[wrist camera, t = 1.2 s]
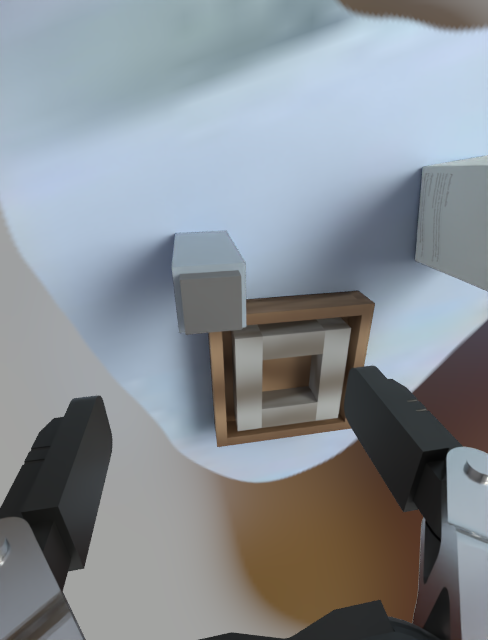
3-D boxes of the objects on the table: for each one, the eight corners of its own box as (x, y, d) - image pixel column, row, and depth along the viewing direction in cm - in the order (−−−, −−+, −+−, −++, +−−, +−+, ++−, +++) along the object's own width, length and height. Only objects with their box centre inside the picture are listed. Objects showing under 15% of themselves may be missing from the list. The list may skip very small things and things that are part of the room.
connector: (175, 233, 26) (170, 272, 17) (226, 230, 26) (248, 268, 17) (180, 282, 27) (178, 341, 18) (228, 278, 28) (249, 335, 19)
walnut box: (206, 302, 28) (208, 319, 26) (358, 290, 30) (376, 304, 27) (214, 424, 35) (217, 449, 32) (340, 408, 37) (354, 430, 34)
